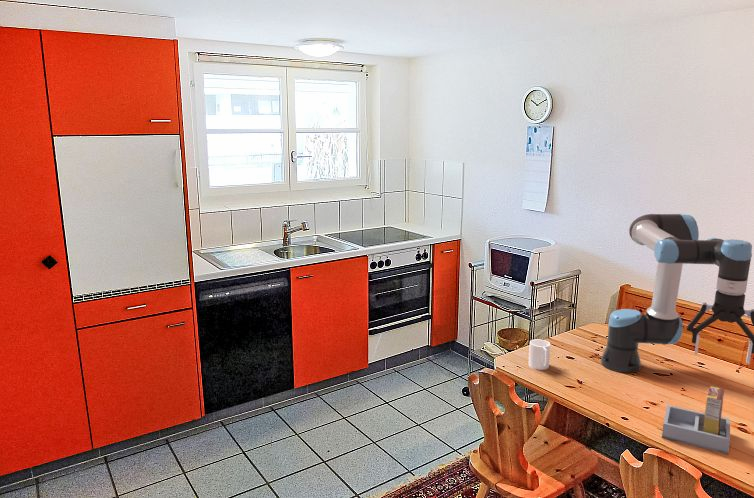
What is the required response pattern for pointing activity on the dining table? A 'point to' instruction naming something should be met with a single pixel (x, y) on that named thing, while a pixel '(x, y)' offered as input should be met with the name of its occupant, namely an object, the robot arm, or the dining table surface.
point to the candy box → (713, 410)
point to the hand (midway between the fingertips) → (721, 357)
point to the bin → (694, 430)
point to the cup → (539, 354)
